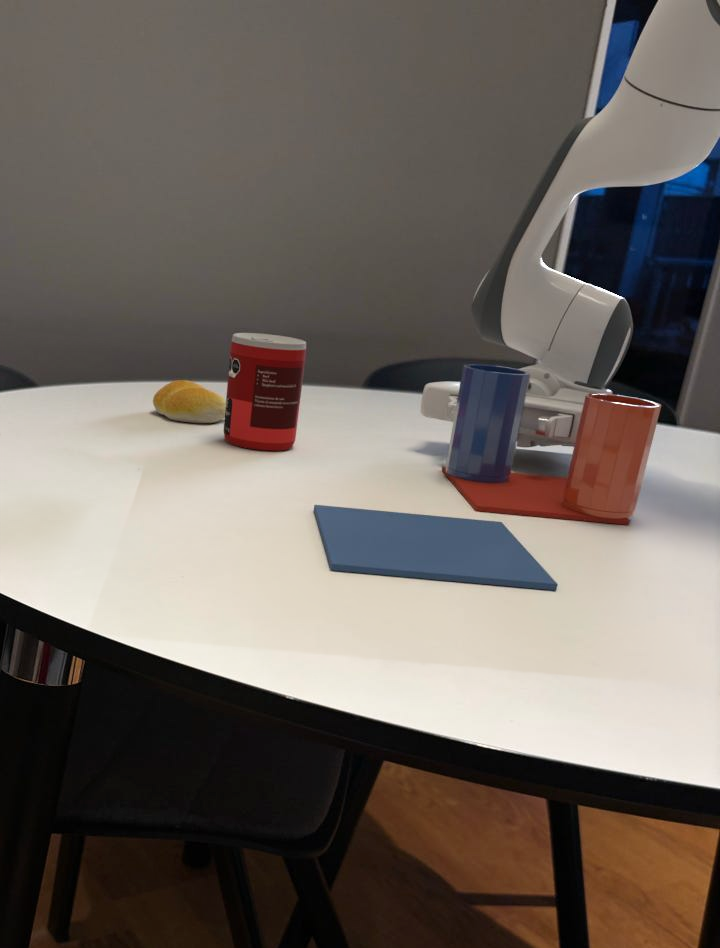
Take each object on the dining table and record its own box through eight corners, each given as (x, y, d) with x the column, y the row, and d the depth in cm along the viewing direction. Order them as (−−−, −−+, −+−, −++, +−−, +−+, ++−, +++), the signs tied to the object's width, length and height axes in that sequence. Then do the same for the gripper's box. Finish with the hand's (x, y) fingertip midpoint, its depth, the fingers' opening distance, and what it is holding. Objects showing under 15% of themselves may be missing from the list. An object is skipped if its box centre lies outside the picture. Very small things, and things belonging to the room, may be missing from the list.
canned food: (244, 432, 114) (254, 331, 110) (307, 445, 111) (320, 341, 106) (208, 441, 108) (217, 334, 104) (274, 455, 104) (286, 345, 100)
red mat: (573, 483, 106) (574, 478, 106) (628, 525, 91) (630, 519, 91) (441, 470, 105) (442, 465, 105) (475, 510, 91) (476, 505, 90)
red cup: (618, 503, 97) (644, 397, 93) (644, 521, 91) (673, 409, 87) (553, 497, 96) (576, 390, 93) (574, 515, 91) (600, 402, 87)
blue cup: (500, 470, 106) (520, 368, 102) (516, 485, 100) (538, 376, 96) (439, 465, 105) (457, 361, 101) (452, 479, 99) (471, 370, 95)
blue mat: (500, 527, 86) (501, 521, 86) (556, 590, 71) (558, 584, 71) (313, 510, 85) (314, 504, 85) (330, 570, 70) (331, 563, 70)
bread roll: (178, 425, 114) (181, 389, 113) (143, 410, 121) (145, 375, 120) (240, 424, 118) (244, 389, 117) (203, 409, 125) (205, 376, 124)
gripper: (446, 364, 118) (406, 373, 107) (627, 392, 110) (605, 404, 98) (437, 419, 120) (397, 433, 109) (614, 450, 112) (590, 468, 100)
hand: (497, 419), depth 103 cm, fingers open, 8 cm apart
